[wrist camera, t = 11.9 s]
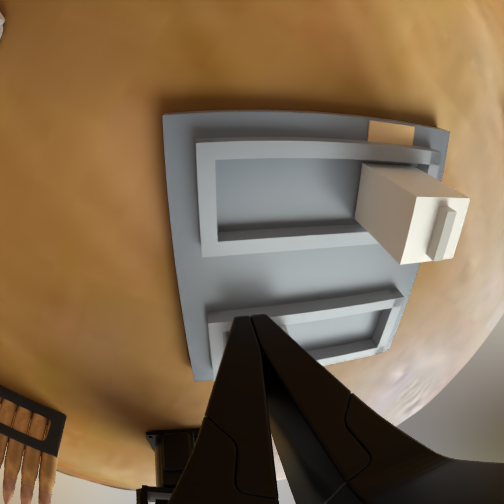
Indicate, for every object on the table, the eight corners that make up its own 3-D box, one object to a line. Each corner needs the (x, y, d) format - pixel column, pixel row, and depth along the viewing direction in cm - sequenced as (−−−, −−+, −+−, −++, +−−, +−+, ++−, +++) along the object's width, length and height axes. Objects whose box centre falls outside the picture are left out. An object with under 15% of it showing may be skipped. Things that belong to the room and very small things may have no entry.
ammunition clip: (66, 415, 24) (54, 521, 14) (64, 421, 25) (52, 523, 15) (-25, 371, 20) (-58, 471, 10) (-24, 379, 21) (-54, 475, 10)
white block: (403, 216, 18) (459, 264, 13) (354, 218, 17) (407, 272, 12) (413, 166, 16) (478, 203, 11) (362, 162, 15) (425, 202, 11)
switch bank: (382, 340, 25) (393, 358, 24) (193, 369, 23) (195, 392, 21) (437, 127, 16) (460, 135, 14) (164, 113, 14) (160, 117, 12)
